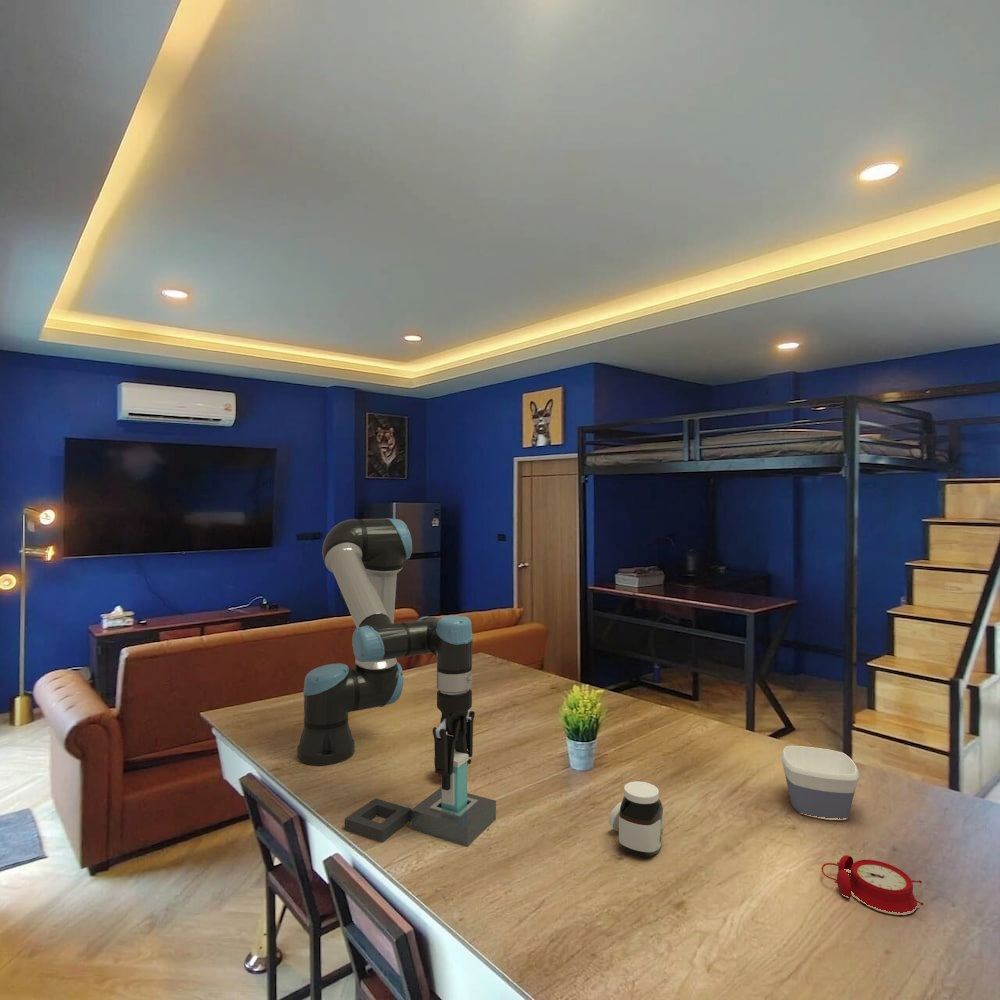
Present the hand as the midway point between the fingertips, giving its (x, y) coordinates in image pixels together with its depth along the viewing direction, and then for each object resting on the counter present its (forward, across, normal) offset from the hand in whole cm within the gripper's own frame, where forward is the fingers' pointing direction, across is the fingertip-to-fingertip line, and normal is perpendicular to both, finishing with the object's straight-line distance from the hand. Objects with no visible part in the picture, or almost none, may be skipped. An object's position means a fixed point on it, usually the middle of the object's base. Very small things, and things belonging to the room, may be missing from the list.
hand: (454, 798), depth 131 cm
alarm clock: (+6, +15, -78) cm, 79 cm away
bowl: (+6, +45, -69) cm, 83 cm away
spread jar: (+6, +12, -36) cm, 38 cm away
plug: (+3, 0, 0) cm, 3 cm away
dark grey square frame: (+6, -8, +14) cm, 17 cm away
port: (+6, 0, 0) cm, 6 cm away
